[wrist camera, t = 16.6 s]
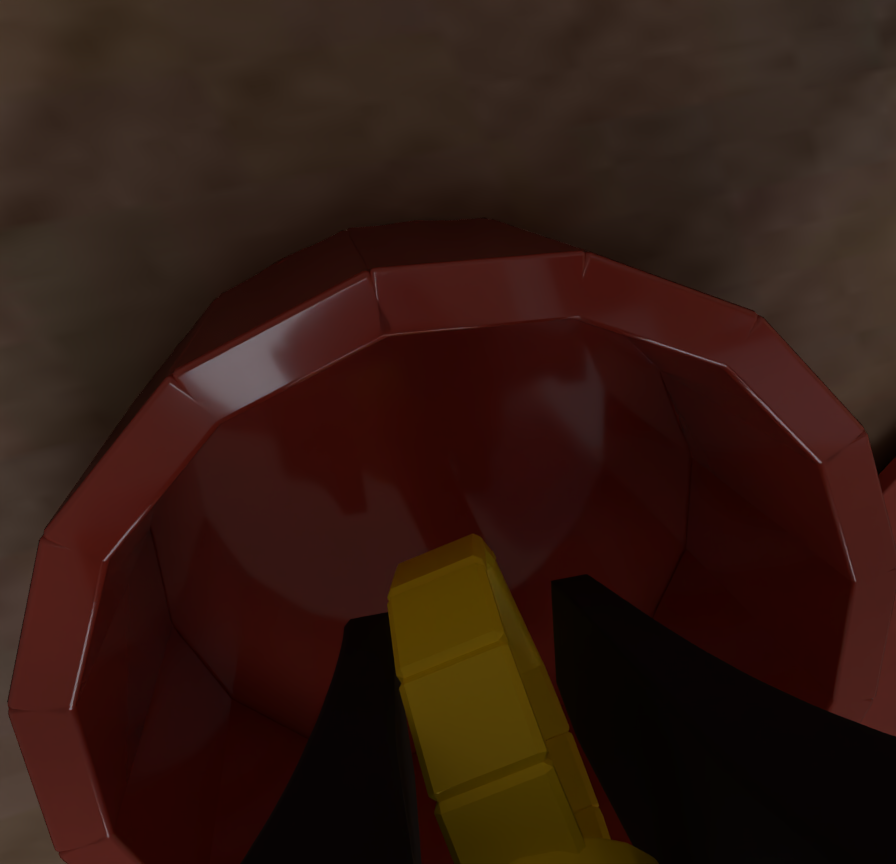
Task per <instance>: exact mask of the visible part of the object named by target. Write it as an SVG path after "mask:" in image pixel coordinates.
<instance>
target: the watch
mask: <svg viewBox="0 0 896 864" xmlns="http://www.w3.org/2000/svg"><path fill="white" fill-rule="evenodd" d="M495 559H496V556H495V554H494V552H493V551H491V549H490V548H489V547H488V545H487V544H486V543H485V542H484V540H483V539H482V538H481V537H480V536H478V535H475V534H470V535H468V536H465V537H463V538H460V539H458V540H456V541H453V542H451V543H448V544H446V545H443V546H441V547H438V548H436V549H434V550H431V551H429V552H426V553H424V554H421V555H419V556H417V557H414V558H412V559H409V560H407V561H404V562H402V563H399V564H398V566H397V569H396V571H395V574H394V578H393V581H392V584H391V587H390V590H389V594H388V597H387V598H388V600H389V602H388V604H387V607H388V615H389V623H390V631H391V638H392V646H393V654H394V662H395V670H396V676H397V678H398V679H399V681H400V682H401V685H400V687H399V691H400V694H401V698H402V702H403V705H404V709H405V713H406V716H407V720H408V724H409V727H410V731H411V734H412V738H413V742H414V745H415V749H416V753H417V756H418V760H419V764H420V767H421V771H422V775H423V778H424V782H425V785H426V789H427V793H428V796H429V797H430V798H431V799H433V800H435V801H436V802H437V803H436V806H435V811H434V814H435V817H436V819H437V822H438V824H439V827H440V829H441V832H442V834H443V837H444V840H445V842H446V845H447V847H448V850H449V852H450V855H451V857H452V860H453V862H454V864H659V863H658V862H657V860H656V859H655V858H653V857H652V856H650V855H649V854H647V853H645V852H643V851H641V850H640V849H638V848H636V847H634V846H632V845H630V844H628V843H625V842H621V841H616V840H611V838H610V835H609V832H608V829H607V826H606V823H605V820H604V817H603V815H602V812H601V810H600V808H598V807H599V803H598V801H597V798H596V796H595V793H594V790H593V788H592V785H591V782H590V780H589V777H588V774H587V772H586V769H585V766H584V764H583V761H582V758H581V756H580V753H579V750H578V748H577V745H576V742H575V740H574V737H573V735H572V733H570V732H568V731H569V724H568V722H567V719H566V717H565V714H564V712H563V710H562V707H561V705H560V702H559V700H558V697H557V695H556V692H555V690H554V687H553V685H552V682H551V680H550V677H549V675H548V672H547V670H546V668H545V665H544V663H543V661H542V659H541V657H540V655H539V653H538V650H537V648H536V646H535V644H534V642H533V640H532V638H531V635H530V633H529V631H528V629H527V627H526V625H525V622H524V620H523V618H522V616H521V614H520V612H519V610H518V607H517V605H516V603H515V601H514V599H513V597H512V595H511V592H510V590H509V588H508V586H507V584H506V582H505V579H504V577H503V575H502V573H501V571H500V569H499V567H498V564H497V562H496V560H495Z"/></svg>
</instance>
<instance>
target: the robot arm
mask: <svg viewBox="0 0 896 864" xmlns="http://www.w3.org/2000/svg"><path fill="white" fill-rule="evenodd" d="M551 596H552V614H553V632H554V650H555V669H556V683H557V686H558V689H559V691H560V694H561V697H562V700H563V702H564V705H565V708H566V711H567V713H568V716H569V718H570V721H571V724H572V726H573V729H574V731H575V734H576V737H577V739H578V741H579V743H580V745H581V747H582V749H583V751H584V753H585V755H586V757H587V759H588V761H589V763H590V765H591V767H592V768H593V770H594V772H595V774H596V776H597V778H598V780H599V782H600V784H601V786H602V788H603V790H604V792H605V793H606V795H607V797H608V799H609V801H610V803H611V805H612V807H613V809H614V811H615V813H616V814H617V816H618V818H619V820H620V822H621V824H622V826H623V828H624V830H625V832H626V834H627V835H628V837H629V839H630V841H631V843H632V845H633V846H634V847H636V848H638V849H640V850H641V851H643V852H645V853H647V854H649V855H650V856H652V857H653V858H655V859H656V860H657V862H658V863H659V864H896V736H893V735H890V734H887V733H884V732H881V731H878V730H876V729H873V728H870V727H868V726H865V725H863V724H860V723H857V722H855V721H852V720H849V719H847V718H844V717H842V716H839V715H836V714H834V713H831V712H829V711H826V710H824V709H822V708H819V707H817V706H814V705H812V704H810V703H807V702H805V701H803V700H801V699H799V698H796V697H794V696H792V695H790V694H788V693H786V692H784V691H781V690H779V689H777V688H775V687H773V686H771V685H768V684H766V683H764V682H762V681H760V680H758V679H756V678H754V677H752V676H750V675H748V674H746V673H744V672H742V671H741V670H739V669H737V668H735V667H733V666H731V665H730V664H728V663H726V662H724V661H722V660H721V659H719V658H717V657H715V656H713V655H712V654H710V653H708V652H706V651H704V650H703V649H701V648H699V647H698V646H696V645H694V644H693V643H691V642H689V641H688V640H686V639H684V638H683V637H681V636H680V635H678V634H676V633H675V632H673V631H672V630H670V629H668V628H667V627H665V626H664V625H662V624H661V623H659V622H657V621H656V620H654V619H653V618H651V617H650V616H648V615H647V614H645V613H644V612H642V611H641V610H639V609H638V608H636V607H635V606H633V605H632V604H630V603H629V602H628V601H626V600H625V599H623V598H622V597H620V596H619V595H617V594H616V593H614V592H613V591H611V590H610V589H609V588H607V587H606V586H604V585H603V584H601V583H600V582H598V581H597V580H595V579H594V578H592V577H591V576H589V575H588V574H584V575H579V576H573V577H568V578H563V579H558V580H552V581H551ZM400 685H401V682H400V681H399V679H398V678H397V676H396V670H395V662H394V654H393V646H392V638H391V631H390V623H389V615H388V612H385V613H380V614H375V615H369V616H364V617H359V618H354V619H350V620H349V621H348V623H347V624H346V625H345V626H344V633H343V640H342V645H341V649H340V653H339V657H338V661H337V664H336V667H335V671H334V674H333V677H332V680H331V683H330V686H329V689H328V692H327V694H326V697H325V700H324V703H323V706H322V708H321V711H320V714H319V716H318V719H317V721H316V723H315V726H314V728H313V730H312V733H311V735H310V737H309V739H308V742H307V744H306V746H305V748H304V751H303V753H302V755H301V757H300V760H299V762H298V764H297V766H296V768H295V770H294V772H293V774H292V776H291V778H290V780H289V782H288V784H287V786H286V788H285V789H284V791H283V793H282V795H281V797H280V799H279V800H278V802H277V804H276V806H275V808H274V809H273V811H272V813H271V815H270V816H269V818H268V820H267V822H266V823H265V825H264V827H263V828H262V830H261V831H260V833H259V835H258V836H257V838H256V839H255V841H254V843H253V844H252V846H251V847H250V849H249V851H248V852H247V854H246V855H245V857H244V859H243V860H242V862H241V863H240V864H422V862H421V849H420V836H419V822H418V809H417V796H416V783H415V772H414V766H413V759H412V752H411V746H410V739H409V733H408V726H407V720H406V713H405V709H404V705H403V702H402V698H401V694H400V691H399V687H400Z"/></svg>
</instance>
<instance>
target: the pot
mask: <svg viewBox="0 0 896 864" xmlns="http://www.w3.org/2000/svg"><path fill="white" fill-rule="evenodd" d="M470 534H475V535H478V536H480V537H481V538H482V539H483V540H484V542H485V543H486V544H487V545H488V547H489V548H490V549H491V551H493V552H494V554H495V556H496V559H495V560H496V562H497V564H498V567H499V569H500V571H501V573H502V575H503V577H504V579H505V582H506V584H507V586H508V588H509V590H510V592H511V595H512V597H513V599H514V601H515V603H516V605H517V607H518V610H519V612H520V614H521V616H522V618H523V620H524V622H525V625H526V627H527V629H528V631H529V633H530V635H531V638H532V640H533V642H534V644H535V646H536V648H537V650H538V653H539V655H540V657H541V659H542V661H543V663H544V665H545V668H546V670H547V672H548V675H549V677H550V680H551V682H552V685H553V687H554V690H555V692H556V695H557V697H558V700H559V702H560V705H561V707H562V710H563V712H564V714H565V717H566V719H567V722H568V724H569V731H568V732H570V733H572V735H573V737H574V740H575V742H576V745H577V748H578V750H579V753H580V756H581V758H582V761H583V764H584V766H585V769H586V772H587V774H588V777H589V780H590V782H591V785H592V788H593V790H594V793H595V796H596V798H597V801H598V803H599V807H598V808H600V810H601V812H602V815H603V817H604V820H605V823H606V826H607V829H608V832H609V835H610V838H611V840H616V841H621V842H625V843H628V844H630V845H632V843H631V841H630V839H629V837H628V835H627V834H626V832H625V830H624V828H623V826H622V824H621V822H620V820H619V818H618V816H617V814H616V813H615V811H614V809H613V807H612V805H611V803H610V801H609V799H608V797H607V795H606V793H605V792H604V790H603V788H602V786H601V784H600V782H599V780H598V778H597V776H596V774H595V772H594V770H593V768H592V767H591V765H590V763H589V761H588V759H587V757H586V755H585V753H584V751H583V749H582V747H581V745H580V743H579V741H578V739H577V737H576V734H575V731H574V729H573V726H572V724H571V721H570V718H569V716H568V713H567V711H566V708H565V705H564V702H563V700H562V697H561V694H560V691H559V689H558V686H557V683H556V669H555V650H554V632H553V614H552V596H551V581H552V580H558V579H563V578H568V577H573V576H579V575H584V574H588V575H589V576H591V577H592V578H594V579H595V580H597V581H598V582H600V583H601V584H603V585H604V586H606V587H607V588H609V589H610V590H611V591H613V592H614V593H616V594H617V595H619V596H620V597H622V598H623V599H625V600H626V601H628V602H629V603H630V604H632V605H633V606H635V607H636V608H638V609H639V610H641V611H642V612H644V613H645V614H647V615H648V616H650V617H651V618H653V619H654V620H656V621H657V622H659V623H661V624H662V625H664V626H665V627H667V628H668V629H670V630H672V631H673V632H675V633H676V634H678V635H680V636H681V637H683V638H684V639H686V640H688V641H689V642H691V643H693V644H694V645H696V646H698V647H699V648H701V649H703V650H704V651H706V652H708V653H710V654H712V655H713V656H715V657H717V658H719V659H721V660H722V661H724V662H726V663H728V664H730V665H731V666H733V667H735V668H737V669H739V670H741V671H742V672H744V673H746V674H748V675H750V676H752V677H754V678H756V679H758V680H760V681H762V682H764V683H766V684H768V685H771V686H773V687H775V688H777V689H779V690H781V691H784V692H786V693H788V694H790V695H792V696H794V697H796V698H799V699H801V700H803V701H805V702H807V703H810V704H812V705H814V706H817V707H819V708H822V709H824V710H826V711H829V712H831V713H834V714H836V715H839V716H842V717H844V718H847V719H849V720H852V721H855V722H857V723H861V721H862V719H863V718H864V716H865V714H866V713H867V711H868V709H869V708H870V706H871V704H872V703H873V698H875V696H876V692H877V687H878V682H879V677H880V672H881V667H882V661H883V656H884V651H885V646H886V641H887V636H888V631H889V625H890V620H891V615H892V610H893V605H894V600H895V595H896V545H895V541H894V537H893V533H892V529H891V525H890V521H889V517H888V513H887V509H886V505H885V501H884V497H883V493H882V489H881V485H880V481H879V477H878V473H877V469H876V465H875V461H874V457H873V453H872V449H871V445H870V441H869V437H868V434H867V433H866V431H865V430H864V427H863V426H862V424H861V423H860V422H859V421H858V420H857V419H856V418H855V417H854V416H853V414H852V413H851V412H850V411H849V410H848V409H847V408H846V407H845V406H844V405H843V404H842V402H841V401H840V400H839V399H838V398H837V397H836V396H835V395H834V394H833V393H832V392H831V390H830V389H829V388H828V387H827V386H826V385H825V384H824V383H823V382H822V381H821V379H820V378H819V377H818V376H817V375H816V374H815V373H814V372H813V371H812V370H811V369H810V367H809V366H808V365H807V364H806V363H805V362H804V361H803V360H802V359H801V358H800V357H799V355H798V354H797V353H796V352H795V351H794V350H793V349H792V348H791V347H790V346H789V344H788V343H787V342H786V341H785V340H784V339H783V338H782V337H781V336H780V335H779V334H778V332H777V331H776V330H775V329H774V328H773V327H772V326H771V325H770V324H769V323H768V322H767V320H766V319H765V318H764V317H762V316H759V315H757V314H756V313H755V311H753V310H750V309H748V308H745V307H742V306H739V305H737V304H734V303H731V302H728V301H725V300H723V299H720V298H717V297H714V296H712V295H709V294H706V293H703V292H701V291H698V290H695V289H692V288H690V287H687V286H684V285H681V284H678V283H676V282H673V281H670V280H667V279H665V278H662V277H659V276H656V275H654V274H651V273H648V272H645V271H643V270H640V269H637V268H634V267H632V266H629V265H626V264H623V263H620V262H618V261H615V260H612V259H609V258H607V257H604V256H601V255H598V254H596V253H593V252H590V251H587V250H584V249H581V248H578V247H575V246H572V245H569V244H566V243H563V242H560V241H557V240H554V239H551V238H548V237H545V236H542V235H539V234H536V233H533V232H530V231H527V230H524V229H521V228H518V227H515V226H512V225H509V224H506V223H503V222H500V221H497V220H494V219H488V218H473V219H459V220H413V221H406V222H399V223H392V224H385V225H378V226H366V227H352V228H348V229H347V231H346V230H342V231H340V232H338V233H336V234H334V235H332V236H330V237H328V238H326V239H325V240H322V241H320V242H318V243H316V244H313V245H311V246H309V247H307V248H304V249H302V250H300V251H297V252H295V253H293V254H291V255H288V256H286V257H284V258H282V259H280V260H279V261H277V262H275V263H274V264H272V265H270V266H269V267H267V268H266V269H264V270H262V271H261V272H259V273H257V274H256V275H254V276H253V277H251V278H249V279H248V280H246V281H244V282H242V283H241V284H239V285H237V286H235V287H233V288H231V289H229V290H227V291H225V292H223V293H221V295H220V296H219V298H216V299H214V300H213V302H212V303H211V304H210V305H209V307H208V308H207V309H206V310H205V312H204V313H203V314H202V316H201V317H200V318H199V319H198V321H197V322H196V323H195V324H194V326H193V327H192V328H191V329H190V331H189V332H188V333H187V335H186V336H185V337H184V338H183V339H182V340H181V341H180V343H179V344H178V345H177V347H176V348H175V349H174V351H173V352H172V353H171V355H170V356H169V357H168V359H167V360H166V361H165V362H164V364H163V365H162V366H161V367H160V369H159V370H158V371H157V372H156V374H155V375H154V376H153V378H152V379H151V380H150V381H149V383H148V384H147V385H146V386H145V388H144V389H143V390H142V391H141V393H140V394H139V395H138V396H137V398H136V399H135V400H134V402H133V403H132V404H131V406H130V407H129V409H128V410H127V412H126V413H125V414H124V416H123V417H122V419H121V420H120V422H119V423H118V424H117V426H116V427H115V429H114V430H113V432H112V433H111V434H110V436H109V437H108V439H107V440H106V442H105V443H104V444H103V446H102V447H101V449H100V450H99V452H98V453H97V454H96V456H95V457H94V459H93V460H92V462H91V463H90V464H89V466H88V467H87V469H86V470H85V472H84V473H83V474H82V476H81V477H80V479H79V480H78V482H77V483H76V484H75V486H74V487H73V489H72V490H71V492H70V493H69V494H68V496H67V497H66V499H65V500H64V502H63V503H62V504H61V506H60V507H59V509H58V510H57V512H56V513H55V514H54V516H53V517H52V519H51V520H50V522H49V523H48V524H47V526H46V527H45V529H44V533H43V535H42V537H41V538H40V540H39V543H38V548H37V553H36V558H35V563H34V568H33V573H32V579H31V584H30V589H29V594H28V599H27V604H26V609H25V614H24V619H23V624H22V629H21V635H20V640H19V645H18V650H17V655H16V660H15V665H14V670H13V675H12V680H11V685H10V691H9V696H8V701H7V702H8V708H9V711H8V715H9V718H10V721H11V724H12V726H13V729H14V732H15V735H16V738H17V741H18V744H19V747H20V750H21V753H22V756H23V758H24V761H25V764H26V767H27V770H28V773H29V776H30V779H31V782H32V785H33V787H34V790H35V793H36V796H37V799H38V802H39V805H40V808H41V811H42V814H43V816H44V819H45V822H46V825H47V828H48V831H49V834H50V837H51V840H52V843H53V845H54V848H55V850H56V851H57V852H59V856H60V858H61V859H62V860H63V861H64V862H66V863H67V864H240V863H241V862H242V860H243V859H244V857H245V855H246V854H247V852H248V851H249V849H250V847H251V846H252V844H253V843H254V841H255V839H256V838H257V836H258V835H259V833H260V831H261V830H262V828H263V827H264V825H265V823H266V822H267V820H268V818H269V816H270V815H271V813H272V811H273V809H274V808H275V806H276V804H277V802H278V800H279V799H280V797H281V795H282V793H283V791H284V789H285V788H286V786H287V784H288V782H289V780H290V778H291V776H292V774H293V772H294V770H295V768H296V766H297V764H298V762H299V760H300V757H301V755H302V753H303V751H304V748H305V746H306V744H307V742H308V739H309V737H310V735H311V733H312V730H313V728H314V726H315V723H316V721H317V719H318V716H319V714H320V711H321V708H322V706H323V703H324V700H325V697H326V694H327V692H328V689H329V686H330V683H331V680H332V677H333V674H334V671H335V667H336V664H337V661H338V657H339V653H340V649H341V645H342V640H343V633H344V626H345V625H346V624H347V623H348V621H349V620H350V619H354V618H359V617H364V616H369V615H375V614H380V613H385V612H388V607H387V604H388V602H389V600H388V598H387V597H388V594H389V590H390V587H391V584H392V581H393V578H394V574H395V571H396V569H397V566H398V564H399V563H402V562H404V561H407V560H409V559H412V558H414V557H417V556H419V555H421V554H424V553H426V552H429V551H431V550H434V549H436V548H438V547H441V546H443V545H446V544H448V543H451V542H453V541H456V540H458V539H460V538H463V537H465V536H468V535H470ZM406 720H407V716H406ZM407 726H408V733H409V739H410V746H411V752H412V759H413V766H414V772H415V783H416V796H417V809H418V822H419V836H420V849H421V862H422V864H454V862H453V860H452V857H451V855H450V852H449V850H448V847H447V845H446V842H445V840H444V837H443V834H442V832H441V829H440V827H439V824H438V822H437V819H436V817H435V814H434V811H435V806H436V803H437V802H436V801H435V800H433V799H431V798H430V797H429V796H428V793H427V789H426V785H425V782H424V778H423V775H422V771H421V767H420V764H419V760H418V756H417V753H416V749H415V745H414V742H413V738H412V734H411V731H410V727H409V724H408V720H407ZM632 846H633V845H632Z"/></svg>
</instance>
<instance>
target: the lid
mask: <svg viewBox="0 0 896 864" xmlns="http://www.w3.org/2000/svg"><path fill="white" fill-rule="evenodd" d="M878 477H879V481H880V485H881V489H882V493H883V497H884V501H885V505H886V509H887V513H888V517H889V521H890V525H891V529H892V533H893V537H894V541H895V545H896V456H895V457H894V458H893V460H892V461H891V462H890V463H889V464H888V465H887V466H886V467H885V468H884V469H883V470H882V471H881V472H880V474H879V475H878ZM860 724H863V725H865V726H868V727H870V728H873V729H876V730H878V731H881V732H884V733H887V734H890V735H893V736H896V595H895V600H894V605H893V610H892V615H891V620H890V625H889V631H888V636H887V641H886V646H885V651H884V656H883V661H882V667H881V672H880V677H879V682H878V687H877V692H876V696H875V698H873V703H872V704H871V706H870V708H869V709H868V711H867V713H866V714H865V716H864V718H863V719H862V721H861V723H860Z"/></svg>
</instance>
